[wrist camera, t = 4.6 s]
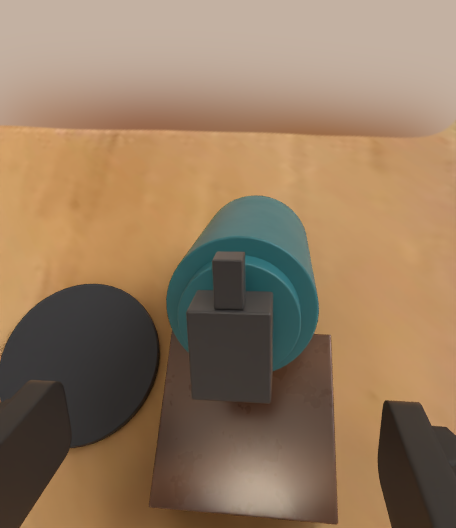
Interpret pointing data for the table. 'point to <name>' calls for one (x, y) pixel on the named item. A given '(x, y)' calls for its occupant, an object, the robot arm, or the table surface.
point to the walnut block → (251, 444)
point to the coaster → (86, 356)
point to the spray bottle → (244, 300)
